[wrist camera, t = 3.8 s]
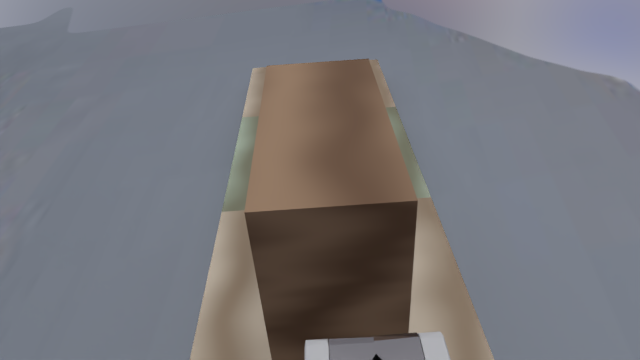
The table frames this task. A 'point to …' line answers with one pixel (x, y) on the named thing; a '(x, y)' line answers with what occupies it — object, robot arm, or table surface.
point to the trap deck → (241, 283)
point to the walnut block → (329, 208)
